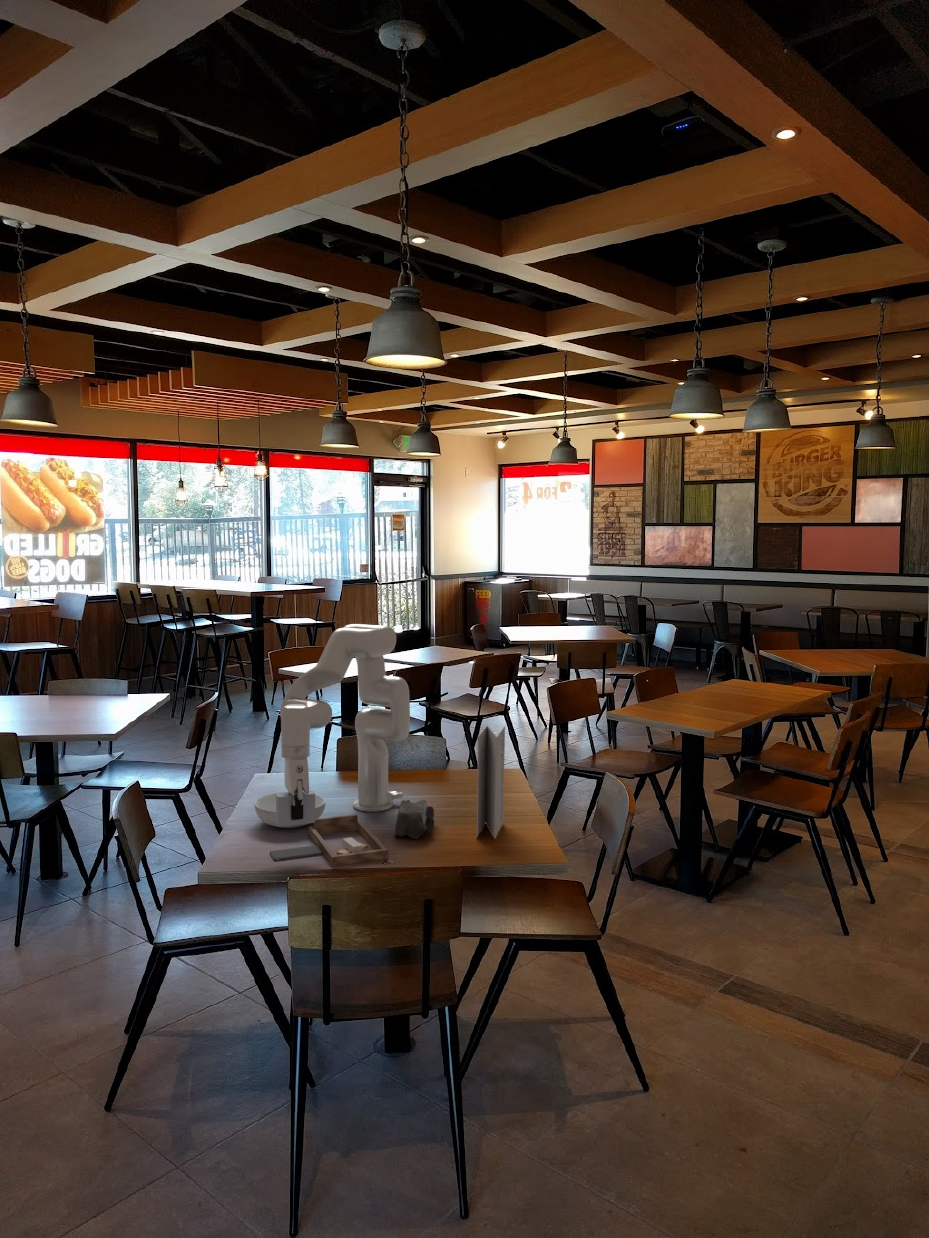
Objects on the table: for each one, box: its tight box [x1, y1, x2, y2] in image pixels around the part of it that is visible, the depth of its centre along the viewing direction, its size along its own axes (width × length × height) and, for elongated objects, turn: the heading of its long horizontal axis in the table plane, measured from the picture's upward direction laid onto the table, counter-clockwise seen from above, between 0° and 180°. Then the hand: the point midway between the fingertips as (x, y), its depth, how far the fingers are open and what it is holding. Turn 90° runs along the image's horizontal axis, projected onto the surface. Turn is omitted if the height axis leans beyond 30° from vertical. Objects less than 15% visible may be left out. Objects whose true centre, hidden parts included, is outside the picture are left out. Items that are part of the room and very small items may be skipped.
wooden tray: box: [308, 813, 389, 867], centre depth 253 cm, size 15×26×4 cm, turn 23°
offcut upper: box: [342, 837, 362, 853], centre depth 246 cm, size 7×3×2 cm, turn 31°
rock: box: [394, 799, 435, 840], centre depth 265 cm, size 18×11×8 cm, turn 0°
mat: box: [269, 844, 323, 861], centre depth 246 cm, size 13×6×1 cm, turn 113°
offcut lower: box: [336, 842, 369, 855], centre depth 247 cm, size 9×3×2 cm, turn 143°
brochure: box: [475, 725, 506, 839], centre depth 265 cm, size 14×6×30 cm, turn 168°
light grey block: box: [276, 790, 316, 828], centre depth 245 cm, size 10×3×8 cm, turn 113°
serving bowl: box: [253, 791, 326, 829], centre depth 271 cm, size 21×21×7 cm
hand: (295, 816), depth 245 cm, fingers closed on light grey block, 3 cm apart
